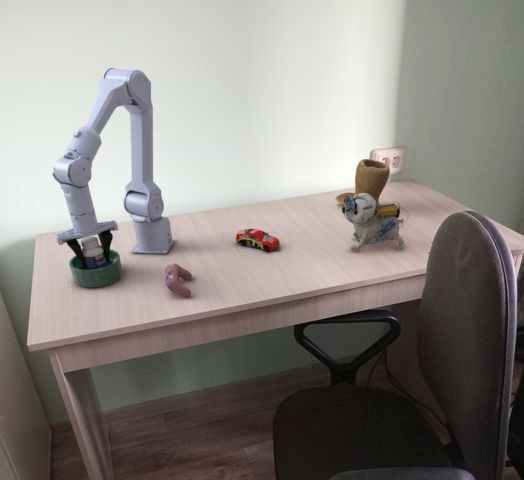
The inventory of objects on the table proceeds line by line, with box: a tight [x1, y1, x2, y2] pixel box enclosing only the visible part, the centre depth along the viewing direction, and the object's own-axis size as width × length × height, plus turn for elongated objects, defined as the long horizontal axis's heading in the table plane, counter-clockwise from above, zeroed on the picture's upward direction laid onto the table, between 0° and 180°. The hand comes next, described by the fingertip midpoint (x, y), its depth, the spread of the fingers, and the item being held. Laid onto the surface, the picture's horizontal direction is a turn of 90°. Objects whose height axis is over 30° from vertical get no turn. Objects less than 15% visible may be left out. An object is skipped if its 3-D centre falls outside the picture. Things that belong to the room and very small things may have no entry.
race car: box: [235, 228, 281, 253], centre depth 137 cm, size 13×5×4 cm, turn 57°
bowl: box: [68, 248, 124, 288], centre depth 125 cm, size 12×12×5 cm
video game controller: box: [164, 262, 193, 298], centre depth 119 cm, size 10×5×7 cm, turn 5°
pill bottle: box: [80, 236, 107, 270], centre depth 123 cm, size 5×5×10 cm
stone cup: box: [335, 158, 391, 213], centre depth 152 cm, size 15×12×15 cm
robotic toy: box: [341, 193, 410, 251], centre depth 131 cm, size 13×17×15 cm
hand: (95, 263), depth 124 cm, fingers closed on pill bottle, 5 cm apart
